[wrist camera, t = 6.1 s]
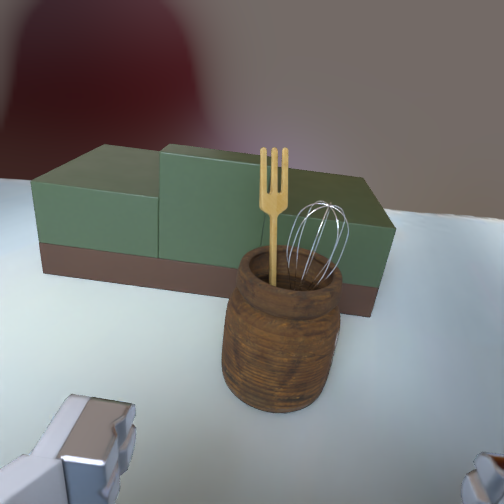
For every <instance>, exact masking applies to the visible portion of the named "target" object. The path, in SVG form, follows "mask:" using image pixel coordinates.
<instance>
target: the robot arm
mask: <svg viewBox="0 0 504 504" xmlns="http://www.w3.org/2000/svg"><path fill="white" fill-rule="evenodd" d="M135 416H136V408H135V404H132V403H126V402H120V401H114V400H108V399H102V398H96V397H89V396H83V395H76V394H71V395H70V396H68V397H67V398H66V399H65V400H64V402H63V403H62V405H61V407H60V408H59V410H58V411H57V413H56V414H55V416H54V417H53V419H52V421H51V422H50V424H49V425H48V427H47V428H46V430H45V432H44V433H43V435H42V436H41V438H40V439H39V441H38V442H37V444H36V446H35V447H34V449H33V450H32V452H31V453H30V455H25V454H22V455H21V456H19V457H18V458H16V459H15V460H13V461H12V462H10V463H8V464H7V465H5V466H4V467H2V468H1V469H0V504H115V502H116V499H117V496H118V494H119V491H120V476H121V475H122V474H123V473H124V472H126V471H127V470H128V467H129V464H130V462H131V459H132V455H133V451H134V447H135V442H136V427H135V426H134V425H133V421H134V418H135ZM473 463H474V465H475V467H476V469H474V470H473V471H471V472H469V473H467V474H466V475H465V477H464V479H463V482H462V485H461V498H462V503H463V504H504V454H497V453H489V452H481V453H479V454H477V455H476V457H475V459H474V461H473Z"/></svg>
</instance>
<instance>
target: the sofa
mask: <svg viewBox="0 0 504 504" xmlns="http://www.w3.org/2000/svg"><path fill="white" fill-rule="evenodd" d="M281 172H282V167H278V193H280V192H281ZM270 187H271V157H269V156H267V193H268V194H269V193H270ZM31 188H32V195H33V203H34V210H35V217H36V224H37V231H38V238H39V247H40V254H41V261H42V268H43V273H45V274H53V275H60V276H68V277H75V278H82V279H90V280H97V281H105V282H112V283H120V284H127V285H134V286H142V287H149V288H157V289H164V290H172V291H179V292H186V293H194V294H201V295H209V296H216V297H224V298H230V295H231V293H232V291H233V290H234V288H235V287H236V286H237V285H236V275H237V271H238V267H239V264H240V261H241V259H242V257H243V256H244V255H245V254H246V253H247V252H249V251H251V250H253V249H255V248H258V247H262V246H269V245H270V217H269V215H268V214H267V213H265V212H263V211H262V210H261V209H260V207H259V198H260V155H253V154H246V153H238V152H230V151H222V150H215V149H206V148H199V147H192V146H183V145H176V144H169V145H168V146H166V147H165V148H164V149H162V150H161V151H152V150H144V149H136V148H129V147H121V146H113V145H106V144H105V145H102V146H100V147H98V148H96V149H94V150H92V151H90V152H88V153H86V154H84V155H82V156H80V157H78V158H76V159H74V160H72V161H70V162H68V163H66V164H64V165H62V166H60V167H58V168H56V169H54V170H52V171H50V172H48V173H46V174H44V175H42V176H40V177H38V178H36V179H34V180H31ZM317 201H325V202H326V203H328V204H330V203H331V202H332V205H336V206H339V207H340V208H341V209H342V210H343V212H344V215H345V217H346V219H347V222H348V226H349V235H348V239H347V242H346V238H347V234H348V227H347V223H346V220H345V223H344V216H343V215H342V214H341V213H340V212H339V211H338V210H340V211H341V212H342V210H341V209H340V208H338V207H335V206H333V207H335V208H337V209H338V210H336V209H334V208H333V210H334V212H335V214H336V216H337V220H338V228H339V232H338V238H339V235H340V232H341V230H342V226H343V223H344V227H343V230H342V233H341V236H340V238H339V241H338V240H337V241H338V244H337V246H336V249H335V251H334V253H333V256H332V259H331V261H332V262H333V263H334V264H335V265H336V264H337V262H338V260H339V258H340V255H341V253H342V250H343V247H344V244H345V242H346V245H345V248H344V251H343V253H342V256H341V258H340V260H339V262H338V264H337V267H338V268H339V270H340V271H341V274H342V295H341V299H340V301H339V303H338V307H339V310H340V313H342V314H350V315H357V316H365V317H370V316H371V312H372V309H373V306H374V302H375V299H376V296H377V292H378V289H379V285H380V282H381V279H382V275H383V272H384V269H385V265H386V262H387V259H388V255H389V252H390V249H391V245H392V242H393V239H394V235H395V232H396V228H395V226H394V225H393V223H392V222H391V220H390V219H389V217H388V215H387V214H386V212H385V211H384V209H383V208H382V206H381V205H380V203H379V202H378V200H377V198H376V197H375V195H374V194H373V192H372V191H371V189H370V188H369V186H368V185H367V183H366V182H365V180H364V179H363V178H361V177H352V176H345V175H337V174H330V173H322V172H314V171H307V170H299V169H291V168H288V207H287V209H286V210H284V211H283V212H282V213H280V214H279V215H278V217H277V245H288V240H289V237H290V233H291V230H292V227H293V225H294V222H295V219H296V217H297V215H298V214H299V212H300V211H301V210H302V209H303V208H305V207H306V206H308V205H310V204H314V203H316V202H317ZM318 203H324V202H318ZM326 203H324V204H326ZM311 206H312V205H311ZM311 206H308V207H307V208H305V209H304V210H303V211H302V212H301V213H300V214H299V215H298V217H297V220H296V222H295V225H294V228H293V231H292V234H291V237H290V240H289V245H288V246H292V245H293V242H294V239H295V237H296V234H297V231H298V229H299V226H300V225H301V223H302V222H303V220H304V219H305V218H306V217H307V214H308V212H309V210H310V208H311ZM322 206H325V205H323V204H315V205H314V206H313V207H312V208H311V210H310V212H309V214H310V213H311V212H312V211H314V210H315V209H317V208H319V207H322ZM327 208H328V206H327V207H322V208H320V209H317V210H316V211H314V212H313V213H311V214H310V215H309V214H308V215H309V216H308V217H307V220H306V219H305V220H306V223H305V226H304V229H303V232H302V235H301V231H302V228H303V225H304V222H305V221H304V222H303V224H302V225H301V227H300V229H299V232H298V234H297V237H296V240H295V243H294V247H298V243H299V239H300V235H301V239H300V243H299V247H300V248H304V249H307V250H311V249H312V247H313V244H314V241H315V238H316V235H317V233H318V230H319V227H320V225H321V222H322V220H323V217H324V215H325V213H326V210H327ZM329 208H330V207H329ZM328 211H329V209H328ZM328 211H327V213H326V215H325V218H324V220H323V223H322V225H321V228H320V231H319V233H318V236H317V239H316V241H315V244H314V247H313V250H312V251H313V252H314V251H315V248H316V245H317V242H318V240H319V237H320V234H321V231H322V228H323V225H324V223H325V220H326V217H327V214H328ZM334 212H333V211H332V209H331V208H330V211H329V214H328V217H327V220H326V223H325V226H324V229H323V231H322V234H321V237H320V240H319V243H318V245H317V248H316V251H315V252H316V253H318V254H320V255H322V256H324V257H326V258H328V259H329V258H330V256H331V255H332V252H333V250H334V247H335V243H336V239H337V221H336V217H335V214H334ZM343 212H342V213H343Z"/></svg>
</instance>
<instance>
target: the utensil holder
mask: <svg viewBox="0 0 504 504" xmlns="http://www.w3.org/2000/svg"><path fill="white" fill-rule="evenodd" d="M271 153H272V154H271V187H270V193H269V194H268V193H267V149H266V148H265V147H263V148H261V150H260V198H259V207H260V209H261V210H262V211H263V212H265V213H267V214H268V215H269V217H270V245H269V246H262V247H258V248H255V249H253V250H251V251H249V252H247V253H246V254H245V255H244V256H243V257H242V259H241V261H240V264H239V267H238V271H237V275H236V285H237V286H236V287H235V288H234V290H233V291H232V293H231V295H230V298H229V301H228V305H227V310H226V317H225V325H224V335H223V346H222V372H223V376H224V379H225V382H226V384H227V386H228V387H229V389H230V390H231V391H232V392H233V393H234V395H235V396H237V397H238V398H239V399H240V400H241V401H243V402H244V403H246V404H248V405H250V406H252V407H254V408H257V409H259V410H263V411H267V412H274V413H287V412H293V411H297V410H300V409H302V408H305V407H306V406H308V405H310V404H311V403H312V402H314V401H315V400H316V399H317V397H318V396H319V395H320V393H321V392H322V390H323V388H324V385H325V383H326V380H327V377H328V374H329V370H330V367H331V363H332V359H333V355H334V351H335V347H336V343H337V339H338V335H339V329H340V310H339V307H338V303H339V301H340V299H341V295H342V274H341V271H340V270H339V268H338V267H337V264H338V262H339V260H340V258H341V256H342V253H343V251H344V248H345V245H346V242H347V239H348V235H349V226H348V222H347V219H346V217H345V215H344V212H343V210H342V209H341V208H340V207H339V206H336V205H332V202H331V203H330V204H328V203H326V202H325V201H317V202H316V203H314V204H310V205H308V206H311V205H312V206H311V208H312V207H313V206H314V205H315V204H323V205H325V206H322V207H327V206H328V208H327V210H326V213H327V211H328V209H329V211H330V208H331V209H332V211H333V212H334V210H333V208H334V209H336V210H338V209H337V208H335V207H338V208H340V209H341V210H342V212H343V213H342V212H341V211H340V210H338V211H339V212H340V213H341V214H342V215H343V216H344V223H345V220H346V223H347V227H348V234H347V238H346V242H345V244H344V247H343V250H342V253H341V255H340V258H339V260H338V262H337V264H336V265H335V264H334V263H333V262H332V261H331V259H332V256H333V253H334V251H335V249H336V246H337V244H338V241H339V238H340V236H341V233H342V230H343V227H344V223H343V226H342V230H341V232H340V235H339V238H338V232H339V228H338V220H337V216H336V214H335V212H334V214H335V217H336V221H337V239H336V243H335V247H334V250H333V252H332V255H331V256H330V258H329V259H328V258H326V257H324V256H322V255H320V254H318V253H316V252H315V251H316V248H317V245H318V243H319V240H320V237H321V234H322V231H323V229H324V226H325V223H326V220H327V217H328V214H329V211H328V214H327V217H326V220H325V223H324V225H323V228H322V231H321V234H320V237H319V240H318V242H317V245H316V248H315V251H314V252H313V251H312V250H313V247H314V244H315V241H316V239H317V236H318V233H319V231H320V228H321V225H322V223H323V220H324V218H325V215H326V213H325V215H324V217H323V220H322V222H321V225H320V227H319V230H318V233H317V235H316V238H315V241H314V244H313V247H312V249H311V250H307V249H304V248H300V247H299V243H300V239H301V235H302V232H303V229H304V226H305V223H306V220H307V217H308V216H309V215H310V214H311V213H313V212H314V211H316V210H317V209H320V208H322V207H319V208H317V209H315V210H314V211H312V212H311V213H310V214H309V212H310V210H311V208H310V210H309V212H308V214H309V215H308V214H307V217H306V218H305V219H306V220H305V219H304V220H303V222H304V221H305V222H304V225H303V228H302V231H301V235H300V239H299V243H298V247H294V243H295V240H296V237H297V234H298V232H299V229H300V227H301V225H302V224H303V222H302V223H301V225H300V226H299V229H298V231H297V234H296V237H295V239H294V242H293V245H292V246H288V245H289V240H290V237H291V234H292V231H293V228H294V225H295V222H296V220H297V217H298V215H299V214H300V213H301V212H302V211H303V210H304V209H305V208H307V207H308V206H306V207H305V208H303V209H302V210H301V211H300V212H299V214H298V215H297V217H296V219H295V222H294V225H293V227H292V230H291V233H290V237H289V240H288V245H277V217H278V215H279V214H280V213H282V212H283V211H284V210H286V209H287V207H288V149H287V148H283V149H282V172H281V192H280V193H278V163H277V161H278V150H277V148H272V150H271ZM318 202H324V203H326V204H324V203H318ZM333 206H335V207H333ZM329 207H330V208H329ZM337 240H338V241H337Z"/></svg>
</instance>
